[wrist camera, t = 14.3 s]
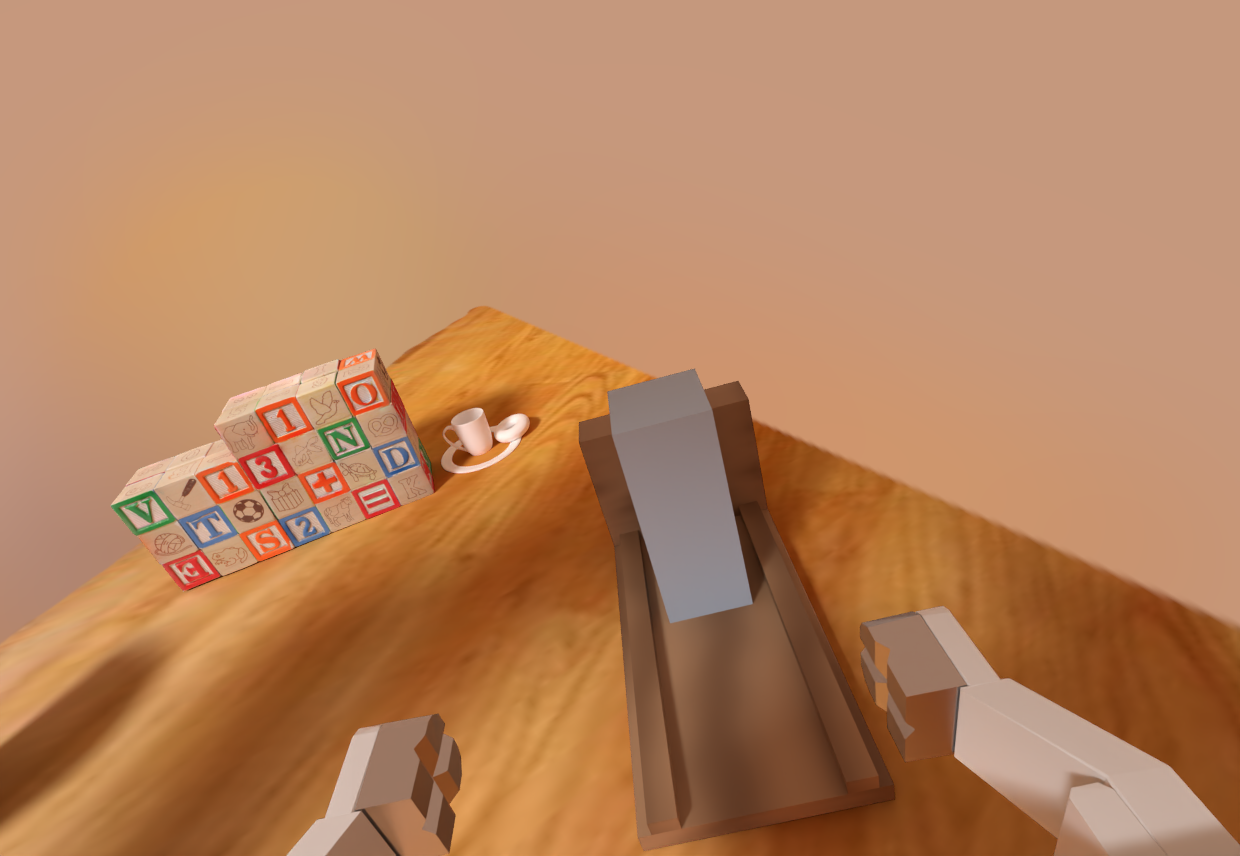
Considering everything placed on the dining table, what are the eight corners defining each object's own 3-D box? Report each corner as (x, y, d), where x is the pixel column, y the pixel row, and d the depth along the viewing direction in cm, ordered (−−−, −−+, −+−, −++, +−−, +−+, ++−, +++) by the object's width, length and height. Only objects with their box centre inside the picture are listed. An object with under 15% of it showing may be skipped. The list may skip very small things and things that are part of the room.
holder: (643, 850, 24) (579, 710, 20) (616, 533, 42) (579, 422, 37) (894, 798, 23) (884, 641, 19) (759, 498, 41) (738, 380, 37)
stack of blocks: (182, 595, 49) (78, 473, 43) (202, 551, 55) (113, 437, 49) (436, 492, 53) (373, 366, 47) (432, 461, 58) (375, 344, 52)
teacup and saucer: (538, 422, 60) (525, 386, 59) (520, 467, 54) (505, 428, 52) (458, 437, 62) (442, 403, 60) (431, 483, 55) (412, 446, 53)
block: (670, 623, 32) (612, 435, 27) (660, 566, 36) (607, 391, 31) (752, 604, 32) (712, 409, 26) (733, 548, 36) (694, 368, 30)
